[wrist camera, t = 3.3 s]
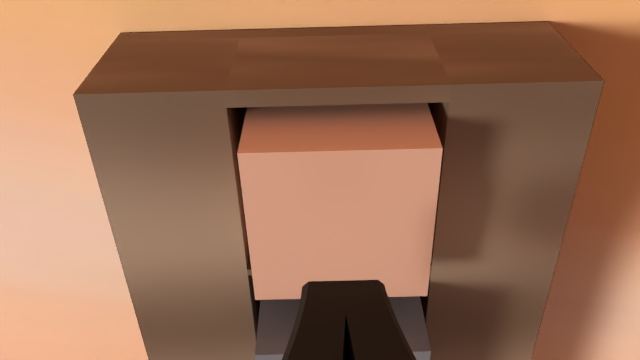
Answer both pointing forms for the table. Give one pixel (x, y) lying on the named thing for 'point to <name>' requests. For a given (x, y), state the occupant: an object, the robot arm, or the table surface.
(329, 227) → the terracotta key
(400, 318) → the charcoal key
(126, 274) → the key box
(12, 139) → the table surface
